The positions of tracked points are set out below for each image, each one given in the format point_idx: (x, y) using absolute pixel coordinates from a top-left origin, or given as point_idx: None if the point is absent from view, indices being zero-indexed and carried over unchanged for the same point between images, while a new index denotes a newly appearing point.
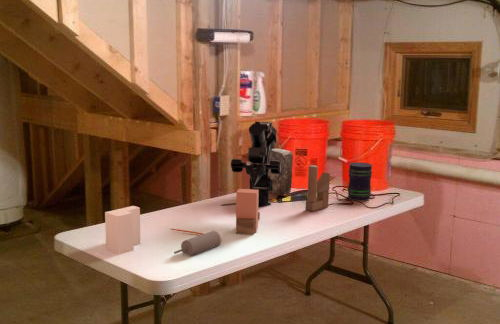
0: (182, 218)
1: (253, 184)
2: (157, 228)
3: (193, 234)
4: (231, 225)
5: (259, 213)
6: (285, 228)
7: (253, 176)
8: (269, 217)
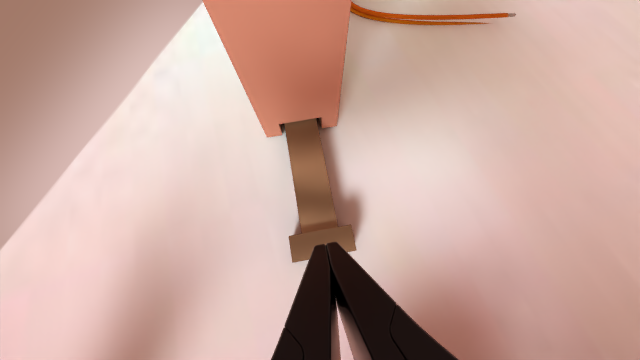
0: (574, 151)
1: (324, 244)
2: (560, 34)
3: (429, 21)
4: (367, 137)
5: (291, 252)
6: (171, 173)
7: (351, 311)
8: (259, 301)
